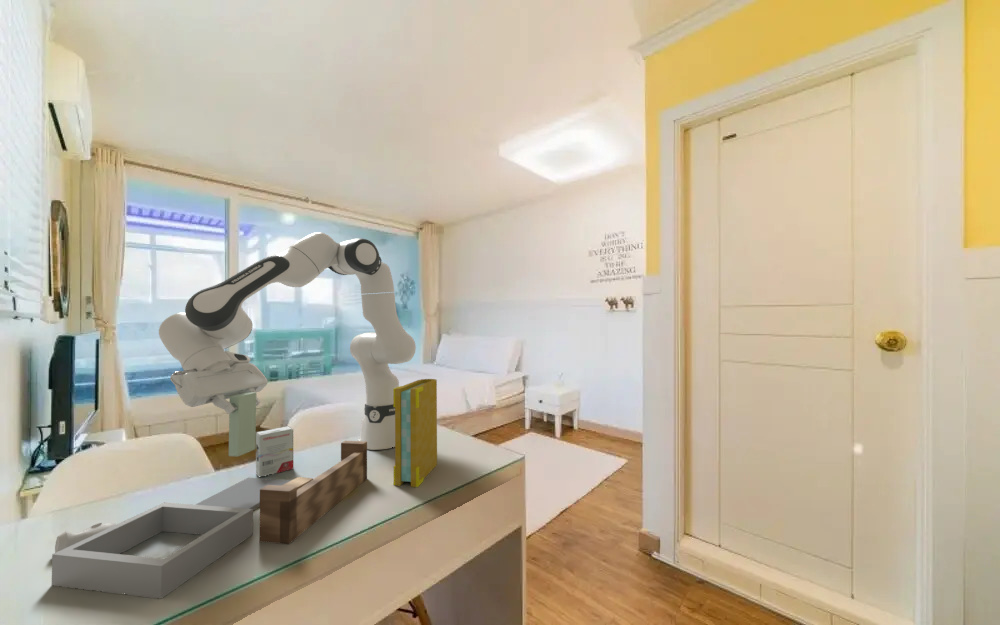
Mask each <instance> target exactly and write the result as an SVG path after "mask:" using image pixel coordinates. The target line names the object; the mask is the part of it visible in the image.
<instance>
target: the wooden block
mask: <svg viewBox="0 0 1000 625" xmlns="http://www.w3.org/2000/svg"><path fill="white" fill-rule="evenodd" d="M313 479H314V478H312V477H304V476H297V477H295V478H293V479H290V480H291V481H290V482H288V483H286V484H284V485H282V486H295V487H297V490H298V489H299V488H301V487H302V486H304V485H306V484H307V483H309V482H310V481H312V480H313Z"/></svg>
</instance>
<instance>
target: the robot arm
mask: <svg viewBox="0 0 1000 625" xmlns="http://www.w3.org/2000/svg"><path fill="white" fill-rule="evenodd" d="M326 269H329V270H330V271H332V272H334V273H335V274H337V275H340V276H347V275H349V276H350V275H351V276H352V275H353V276H354V275H355V276H356V277H357V278H358V280H359V283H360V295H361V296H360V297H361V308H362V315H363V318H364V319H365V320H366V321H368V322H369V323H370V324H371V326H372V328H373V329H374V332H373V331H372V332H370V331H368V332H364V333H360V334H357V335H355V336H354V337H353V338H352V340H351V342H350V344H349V345H350V346H349V350H350V351H349V352H350V354H351V356H352V357H353V359H354V360H355V361H356V362H357V363H358V365H359V367H360V369H361V371H362V374H363V377H364V378H363V379H364V383H365V404H364V409H363V411H364V415H365V416H364V417H363V418H362V419H361V425H360V426H361V427H360V435H359V438H357V440H356V441H366V442H367V450H370V451H371V450H372V451H373V450H374V451H375V450H376V451H377V450H387V449H393V448H395V407H393V389H394V388H397V387H399V386H400V384H399V383H400V382H399V379H398V377H397V376H396V375H395V374H394V373H393V372H392V371H391V369H390V367H389V365H399V364H403V363H407V362H410V361H411V360H412V359H413V358H414V356H415V353H416V350H417V347H416V346H417V345H416V341H415V340H414V338H413V337H412V336H411V335H410V334H409V333H408V332H407V331H406V330H405V329H404V327H403V325H402V324H401V320H400V319H399V316H398V313H397V305H396V298H395V297H396V296H395V287H394V286H395V285H394V281H393V280H394V279H393V276H392V272H391V269H390V267H389V265H388V264H387V263H384V262H383V261H382V258H381V256H380V253H379V250H378V248H377V246H376V245H375V244H374V242H372V241H371V240H369V239H366V238H357V237H356V238H353V239H347V240H344V241H342V242H339V243H338V242H336V241H335V240H334V239H333V238H332V236H330V235H328V234H327V233H324V232H321V231H316V232H313V233H311V234H308V235H306V236H305V237H303V238H301V239H299V240H297V241H296V242H294V243H293V244H291V245H290V246H289V247H287V248H286V249H285V250H283V251H282V252H279V254H274V255H268V256H266V257H264V258H262V259H260V260H258V261H257V262H254V263H252V264H251V265H249V266H248V267H246V268H244V269H242V270H240V271H239V272H237V273H236V274H234V275H232V276H230V277H229V278H227V279H225V280H224V281H222V282H220V283H217V284H215V285H211V286H209V287H206V288H203V289H201V290H198V292H196V293H194V294H193V295H192V296H191V297H190V298H189V299H188V300H187V302H186V304H185V307H184V310H185V311H184V312H177V313H175V314H171V315H170V316H168V317H166V318H165V319H164V320H163V321H162V322H161V323H160V326H159V327H158V336H159V339H160V340H161V342H162V344H163V345H164V348H166V350H167V351H168V352H169V354H170V355H171V356H172V357H173V358H174V359H175V360H177V361H179V363H180V366H181V368H182V370H177V371H174V372H173V373H172V374H171V375H170V378H169V379H170V381H171V383H173V385H174V386H175V390H176V392H177V394H178V396H179V397H180V399H181V400H182V402H183V403H184V404H185V406H188V407H190V408H194V407H198V406H203V405H208V404H211V403H212V404H213V405H214V406H215V407H217V408H219V409H222V410H224V411H225V412H226V414H228V415H229V414H230V413H234V412H235V411H236V410H237V409H238V407H237V406H236V404H235V403H230V402H229V400H230V396H233V395H238V394H242V393H247V392H255V393H256V407H258V406H259V405H260V403H261V401H260V399H259V398H258V396H257V393H260V392H261V391H262V390H264V388H265V387H266V386H267V385H268V378H267V377H266V376H265V375H264V373H263V372H262V371H261V370H260V369H259V368H258V367H257V366H256V365H255V364H254V363H252V362H250V361H251V358H250V357H249V356H248V355H246V354H242V353H236V352H231V351H228V350H225V349H227V348H231V347H232V346H235V345H237V344H239V343H242V342H243V341H244V340H246V339H247V338H248V337H249V336H250V334H251V333H252V331H253V322H252V319H251V318H250V317H249V315H248V314H247V312H245V310H244V309H243V308H242V306H243V303H245V301H246V300H247V299H249V298H250V297H252V296H253V295H255V294H256V293H258V292H260V291H261V290H263V289H264V288H265V287H267V286H269V285H271V284H274V283H279V284H281V285H282V284H283V285H284V286H286V287H292V288H302V287H305V286H306V285H308V284H309V283H311V282H312V281H314V280H315V279H316V278H317V277H319V276H320V274H321V273H323V272H324V271H325V270H326ZM392 447H393V448H392Z"/></svg>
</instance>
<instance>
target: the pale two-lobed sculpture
mask: <svg viewBox="0 0 1000 625" xmlns="http://www.w3.org/2000/svg"><path fill="white" fill-rule="evenodd" d="M115 525H117V524H116V523H114V522H106V523H102V522H99V523H96V524H93V525H92V526H90V527H88V528H86V529H84V530H82V531H80V532H70V531H68V530H65V531H64V532H62V533H61V534H59V535H58V536H57V537H56V541H55V546H54V553H56V552H58V551H61V550H63V549H65V548H67V547H69V546H71V545H74V544H76V543H78V542H80V541H82V540H84V539H87V538H89V537H91V536H93V535H95V534H97V533H99V532H102V531H104V530H106V529H108V528H110V527H112V526H115Z"/></svg>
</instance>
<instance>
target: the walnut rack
mask: <svg viewBox="0 0 1000 625" xmlns="http://www.w3.org/2000/svg"><path fill="white" fill-rule="evenodd" d="M366 480H368V449H367V442H366V441H357V440H344V441H342V442H340V461H339V462H338V463H336V464H335V465H332V466H331V467H330V468H329V469H327V470H326V471H324V472H323V473H321V474H319V475H317V476H316V477H315V478H313V480H312V481H310V482H309V483H307V484H306V485H304V486H302V487H301V488H299V489H298V490H297V487H295V486H279V485H267V486H265V487H263V488H261V489H260V507H259V532H258V533H259V536H258V540H259V543H260V542H261V543H273V544H282V545H290V544H292V542H294V541H295V540H296V539H297V538H298V537H300V536H301V535H302V534H303V533H304V532H306V531H307V530H308V529H309V528H310V527H312V526H313V525H314V524H315V523H316V522H317V521H318V520H320V519H321V518H322V517H323V516H324V515H326V514H327V513H328V512H330V510H331V509H333V508H334V507H335V506H336V505H338V504H339V503H340V502H341V501H342V500H344V499H345V498H346V497H347V496H348V495H349V494H351V493H352V492H353V491H354V490H356V488H358V487H359V486H360V485H361V484H362V483H364V482H365V481H366Z"/></svg>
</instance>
